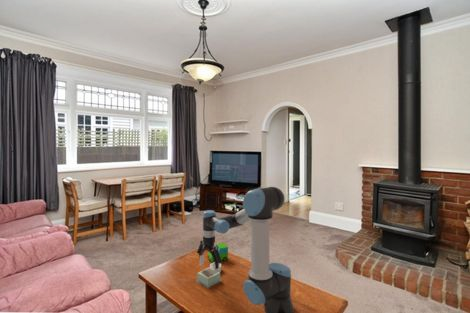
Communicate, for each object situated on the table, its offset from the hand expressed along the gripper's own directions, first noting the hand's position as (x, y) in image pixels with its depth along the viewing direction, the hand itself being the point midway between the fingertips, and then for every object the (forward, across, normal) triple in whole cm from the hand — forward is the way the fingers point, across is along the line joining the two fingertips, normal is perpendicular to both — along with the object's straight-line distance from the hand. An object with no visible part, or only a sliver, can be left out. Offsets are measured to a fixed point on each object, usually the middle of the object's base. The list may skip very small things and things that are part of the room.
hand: (208, 269), depth 156 cm
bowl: (+8, +6, -11) cm, 14 cm away
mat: (+8, 0, 0) cm, 8 cm away
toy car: (+8, +16, -23) cm, 29 cm away
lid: (+7, 0, 0) cm, 7 cm away
